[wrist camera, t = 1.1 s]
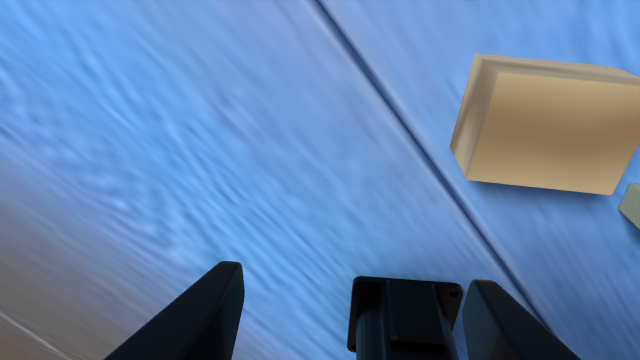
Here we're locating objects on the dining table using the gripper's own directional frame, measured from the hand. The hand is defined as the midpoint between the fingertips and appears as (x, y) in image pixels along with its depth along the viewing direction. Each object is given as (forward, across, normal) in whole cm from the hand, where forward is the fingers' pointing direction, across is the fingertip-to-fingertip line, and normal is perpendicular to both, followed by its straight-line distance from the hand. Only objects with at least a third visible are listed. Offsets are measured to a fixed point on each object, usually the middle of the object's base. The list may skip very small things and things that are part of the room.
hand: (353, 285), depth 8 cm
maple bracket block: (+12, -8, 0) cm, 15 cm away
